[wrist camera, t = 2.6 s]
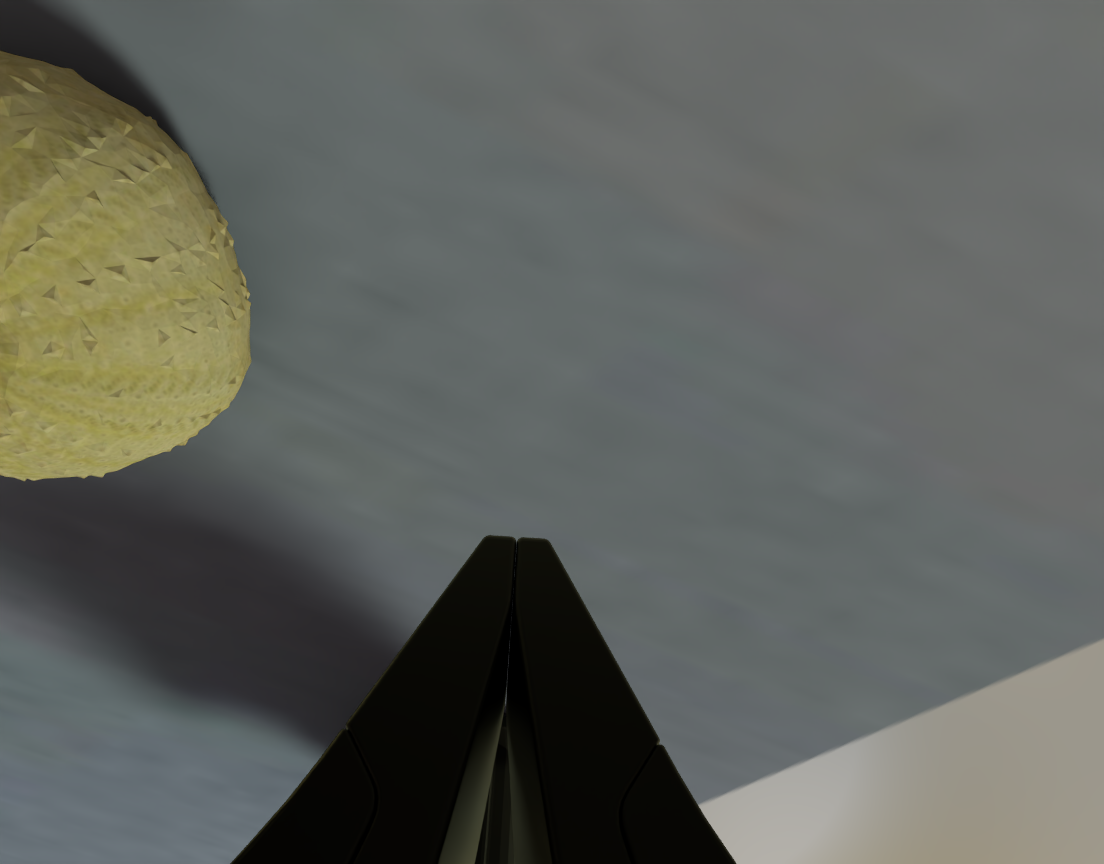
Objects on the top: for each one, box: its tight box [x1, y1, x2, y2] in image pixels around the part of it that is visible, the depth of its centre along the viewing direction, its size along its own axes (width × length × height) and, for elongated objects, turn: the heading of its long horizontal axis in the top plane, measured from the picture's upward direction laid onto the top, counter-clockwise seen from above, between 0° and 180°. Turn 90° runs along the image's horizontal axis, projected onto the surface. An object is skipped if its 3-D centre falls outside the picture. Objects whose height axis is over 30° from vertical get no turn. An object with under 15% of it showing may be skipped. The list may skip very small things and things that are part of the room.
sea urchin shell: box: [0, 51, 251, 481], centre depth 15 cm, size 9×8×8 cm
